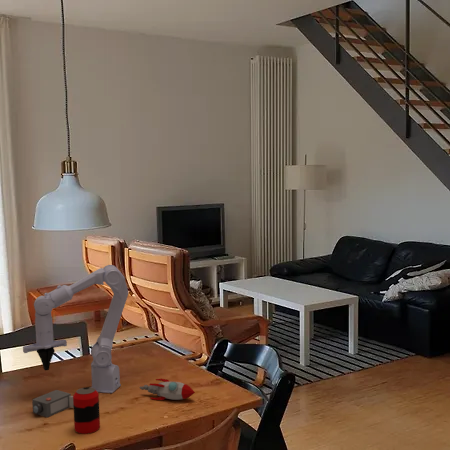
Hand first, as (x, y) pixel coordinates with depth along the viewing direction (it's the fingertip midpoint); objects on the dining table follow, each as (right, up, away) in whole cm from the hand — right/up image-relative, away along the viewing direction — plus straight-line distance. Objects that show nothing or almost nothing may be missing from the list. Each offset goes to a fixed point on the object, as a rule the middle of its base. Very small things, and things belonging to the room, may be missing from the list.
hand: (46, 369), depth 215 cm
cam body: (+5, -11, -12) cm, 17 cm away
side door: (+15, -10, -11) cm, 21 cm away
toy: (+42, -9, -4) cm, 43 cm away
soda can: (+20, -12, -26) cm, 35 cm away
